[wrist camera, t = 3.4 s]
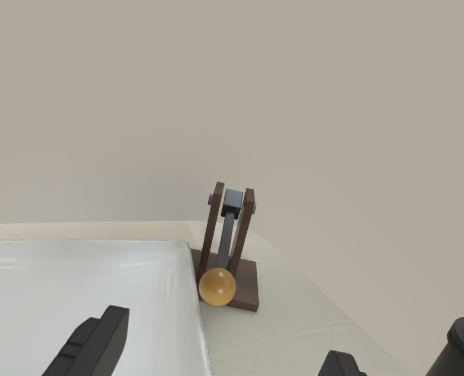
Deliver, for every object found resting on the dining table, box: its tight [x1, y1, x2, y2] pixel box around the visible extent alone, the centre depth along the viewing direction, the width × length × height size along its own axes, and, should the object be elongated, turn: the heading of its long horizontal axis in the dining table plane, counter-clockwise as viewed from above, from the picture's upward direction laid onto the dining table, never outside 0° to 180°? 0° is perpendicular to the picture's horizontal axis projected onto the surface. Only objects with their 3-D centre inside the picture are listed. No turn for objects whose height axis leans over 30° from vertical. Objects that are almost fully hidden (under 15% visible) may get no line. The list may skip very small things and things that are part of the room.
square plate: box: [0, 239, 213, 376], centre depth 22 cm, size 27×27×4 cm
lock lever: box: [199, 189, 243, 307], centre depth 30 cm, size 14×4×4 cm, turn 178°
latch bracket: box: [190, 182, 259, 312], centre depth 35 cm, size 9×12×14 cm
